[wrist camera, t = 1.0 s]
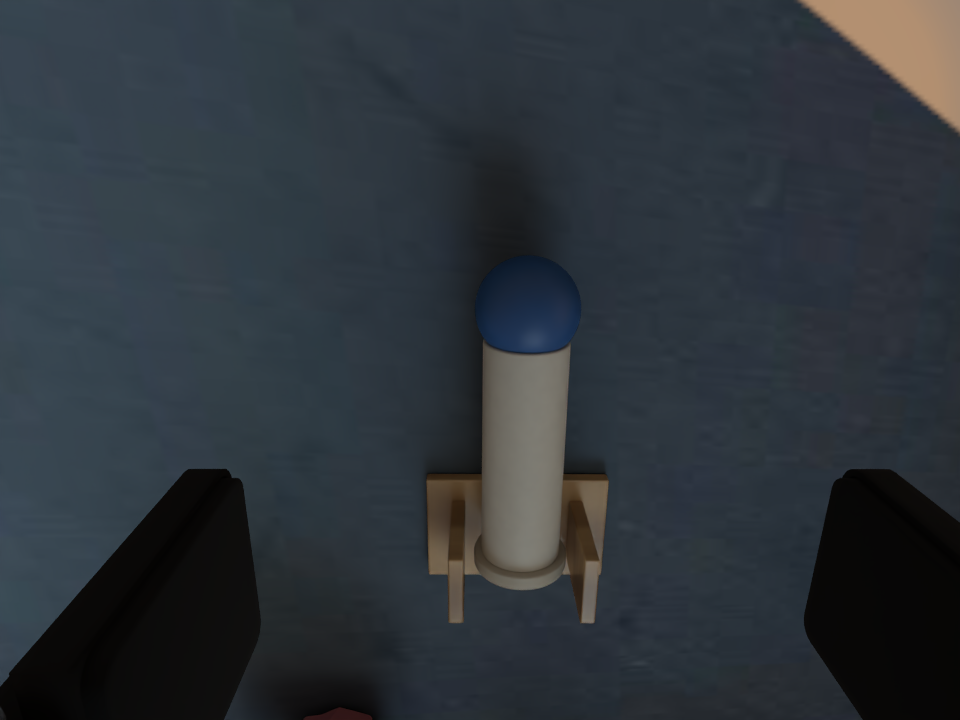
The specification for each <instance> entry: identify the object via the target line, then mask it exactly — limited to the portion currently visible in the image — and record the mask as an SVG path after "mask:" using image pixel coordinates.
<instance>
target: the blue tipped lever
mask: <svg viewBox="0 0 960 720" xmlns="http://www.w3.org/2000/svg"><path fill="white" fill-rule="evenodd" d="M475 316H476V321H477V325H478V328H479V330H480V332H481V334H482V336H483V337H484V340H483V401H482V524H481V535H480V536H479V537H478V539H477V541H476V543H475V546H474V563H475V566H476V568H477V570H478V571H479V573H480V574H481V575H482V576H483V577H484V578H485V579H487V580H488V581H490V582H491V583H493V584H495V585H498V586H500V587H504V588H508V589H513V590H532V589H538V588H542V587H544V586H547V585H549V584H551V583H553V582H554V581H556V580H557V579H558V578H559V577H560V576H561V574H562V573H563V571H564V568H565V563H566V549H565V546H564V544H563V542H562V540H561V539H560V523H561V505H562V488H563V470H564V453H565V435H566V418H567V400H568V383H569V365H570V348H571V344H570V340H571V339H572V337H573V336H574V334H575V332H576V330H577V327H578V325H579V321H580V316H581V300H580V295H579V292H578V289H577V287H576V284H575V282H574V281H573V279H572V278H571V276H570V275H569V274H568V273H567V272H566V271H565V270H564V269H563V268H562V267H561V266H559V265H558V264H557V263H555V262H553V261H551V260H549V259H546V258H543V257H539V256H532V255H526V256H518V257H514V258H511V259H508V260H506V261H504V262H502V263H500V264H499V265H497V266H496V267H495V268H493V269H492V270H491V271H490V272H489V273H488V274H487V276H486V277H485V278H484V280H483V281H482V283H481V285H480V287H479V290H478V293H477V297H476V301H475Z"/></svg>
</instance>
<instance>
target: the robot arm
mask: <svg viewBox="0 0 960 720" xmlns="http://www.w3.org/2000/svg"><path fill="white" fill-rule="evenodd" d="M260 625H261V618H260V609H259V602H258V594H257V587H256V579H255V572H254V564H253V557H252V549H251V542H250V534H249V527H248V519H247V512H246V504H245V497H244V489H243V484H242V482H241V480H240V479H239V478H232V477H231V474H230V472H229V471H228V470H227V469H188V470H187V471H185V472H184V473H183V474H182V476H181V477H180V478H179V479H178V480H177V481H176V482H175V484H174V485H173V486H172V487H171V488H170V489H169V490H168V492H167V493H166V494H165V495H164V496H163V497H162V498H161V500H160V501H159V502H158V503H157V504H156V505H155V506H154V508H153V509H152V510H151V511H150V512H149V513H148V514H147V516H146V517H145V518H144V519H143V520H142V521H141V523H140V524H139V525H138V526H137V527H136V528H135V529H134V531H133V532H132V533H131V534H130V535H129V536H128V537H127V539H126V540H125V541H124V542H123V543H122V544H121V545H120V547H119V548H118V549H117V550H116V551H115V552H114V553H113V555H112V556H111V557H110V558H109V559H108V560H107V562H106V563H105V564H104V565H103V566H102V567H101V568H100V570H99V571H98V572H97V573H96V574H95V575H94V576H93V578H92V579H91V580H90V581H89V582H88V583H87V584H86V586H85V587H84V588H83V589H82V590H81V591H80V592H79V594H78V595H77V596H76V597H75V598H74V599H73V600H72V602H71V603H70V604H69V605H68V606H67V607H66V609H65V610H64V611H63V612H62V613H61V614H60V615H59V617H58V618H57V619H56V620H55V621H54V622H53V623H52V625H51V626H50V627H49V628H48V629H47V630H46V631H45V633H44V634H43V635H42V636H41V637H40V638H39V639H38V641H37V642H36V643H35V644H34V645H33V646H32V647H31V649H30V650H29V651H28V652H27V653H26V654H25V656H24V657H23V658H22V659H21V660H20V661H19V662H18V664H17V665H16V666H15V667H14V668H13V669H12V670H11V672H10V673H9V675H10V676H9V677H8V679H7V680H6V681H5V682H4V683H3V684H2V685H1V687H0V720H224V718H225V716H226V714H227V711H228V709H229V707H230V704H231V702H232V700H233V697H234V695H235V693H236V690H237V688H238V686H239V683H240V681H241V679H242V676H243V674H244V672H245V669H246V667H247V665H248V662H249V660H250V658H251V655H252V653H253V651H254V648H255V646H256V644H257V641H258V637H259V633H260ZM804 626H805V631H806V634H807V636H808V639H809V640H810V642H811V644H812V645H813V647H814V648H815V650H816V651H817V653H818V654H819V655H820V657H821V658H822V660H823V661H824V663H825V664H826V666H827V667H828V669H829V670H830V672H831V673H832V675H833V676H834V678H835V679H836V681H837V682H838V684H839V685H840V686H841V688H842V689H843V691H844V692H845V694H846V695H847V697H848V698H849V700H850V701H851V703H852V704H853V706H854V707H855V709H856V710H857V712H858V713H859V715H860V716H861V718H862V719H863V720H960V523H959V522H958V521H957V520H956V519H954V518H953V517H952V516H950V515H949V514H948V513H947V512H945V511H944V510H943V509H942V508H940V507H939V506H938V505H936V504H935V503H934V502H933V501H931V500H930V499H929V498H927V497H926V496H925V495H924V494H922V493H921V492H920V491H918V490H917V489H916V488H915V487H913V486H912V485H911V484H909V483H908V482H907V481H906V480H904V479H903V478H902V477H900V476H899V475H898V474H897V473H895V472H893V471H892V470H889V469H851V470H849V471H847V472H846V473H845V474H844V475H843V478H839V479H837V480H836V481H835V482H834V484H833V486H832V490H831V495H830V499H829V504H828V508H827V513H826V518H825V522H824V527H823V531H822V536H821V540H820V545H819V550H818V554H817V559H816V563H815V568H814V573H813V577H812V582H811V586H810V591H809V595H808V600H807V605H806V609H805V614H804Z"/></svg>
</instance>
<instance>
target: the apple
mask: <svg viewBox="0 0 960 720" xmlns="http://www.w3.org/2000/svg"><path fill="white" fill-rule="evenodd" d="M303 720H373V719H372V717H371V716H370V715H367V714H363V713H360V712H356V711H353V710H349V709H345V708H341V707H339V708H336V709H334V710H331V711H329V712H327V713H324V714H322V715H314V716H306V717H305V718H304V719H303Z"/></svg>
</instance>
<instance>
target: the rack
mask: <svg viewBox="0 0 960 720" xmlns="http://www.w3.org/2000/svg"><path fill="white" fill-rule="evenodd" d="M426 484H427V523H428V563H429V574H448V621H449V623H463V621H464V587H465V574H480V573H479V571H478V570H477V568H476V566H475V563H474V546H475V543H476V541H477V539H478V537H479V536H480V535H481V524H482V474H428V475H427V480H426ZM608 485H609V480H608V478H607V475H606V474H563V488H562V505H561V523H560V539H561V540H562V542H563V544H564V546H565V549H566V563H565V568H564V571H563V573H562V574H570V578H571V582H572V587H573V592H574V596H575V601H576V606H577V610H578V615H579V620H580V622H581V623H594V622H595V614H596V602H597V590H598V578H599V575H600V574H601V567H602V555H603V544H604V532H605V520H606V508H607V496H608Z"/></svg>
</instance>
